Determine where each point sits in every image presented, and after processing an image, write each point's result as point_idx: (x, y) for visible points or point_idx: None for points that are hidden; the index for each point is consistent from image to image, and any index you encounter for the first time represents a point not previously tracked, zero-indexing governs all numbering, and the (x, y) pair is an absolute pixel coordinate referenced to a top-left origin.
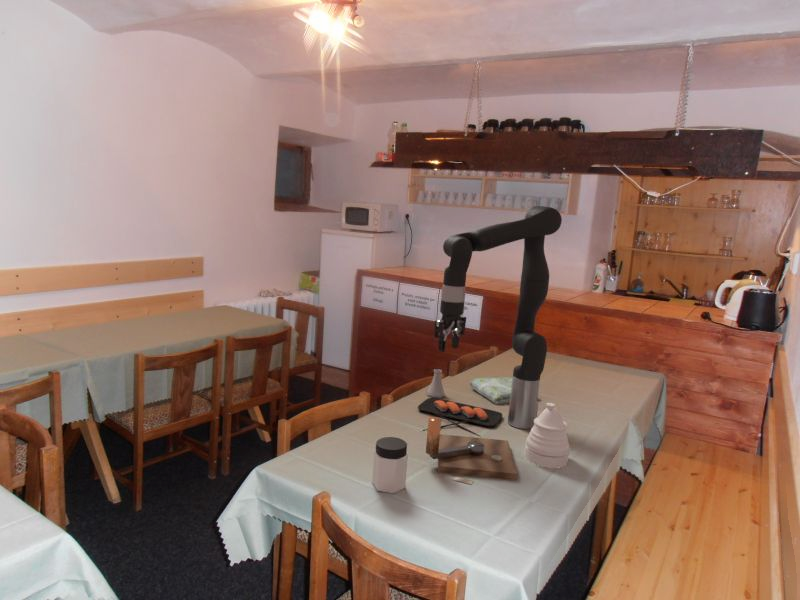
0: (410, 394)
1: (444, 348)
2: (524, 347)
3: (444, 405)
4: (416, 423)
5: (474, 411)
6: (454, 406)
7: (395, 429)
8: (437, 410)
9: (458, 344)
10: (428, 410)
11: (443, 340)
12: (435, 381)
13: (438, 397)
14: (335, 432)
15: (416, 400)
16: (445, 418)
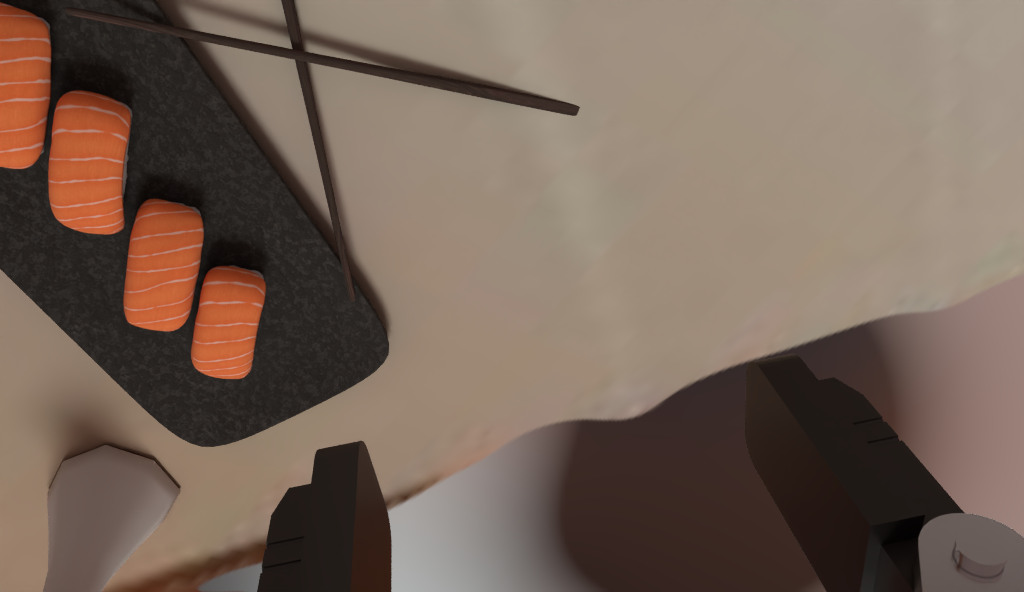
0: None
1: (808, 392)
2: None
3: (232, 291)
4: (521, 210)
5: (43, 129)
6: (170, 247)
7: (688, 197)
8: (269, 301)
9: (276, 521)
10: (331, 319)
11: (978, 528)
12: (107, 555)
13: (127, 452)
14: (948, 297)
15: (291, 462)
16: (324, 160)
